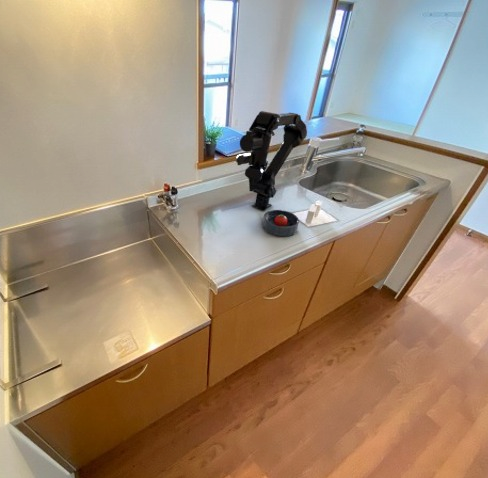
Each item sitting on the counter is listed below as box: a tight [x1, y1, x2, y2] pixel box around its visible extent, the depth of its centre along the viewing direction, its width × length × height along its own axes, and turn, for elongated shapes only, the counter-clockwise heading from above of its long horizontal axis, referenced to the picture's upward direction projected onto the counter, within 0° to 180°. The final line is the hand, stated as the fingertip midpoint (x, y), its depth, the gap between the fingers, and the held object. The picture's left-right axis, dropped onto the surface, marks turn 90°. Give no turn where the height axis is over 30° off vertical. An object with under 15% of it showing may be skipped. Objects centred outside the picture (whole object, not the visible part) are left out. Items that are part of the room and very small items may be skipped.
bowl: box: [262, 209, 300, 237], centre depth 108 cm, size 13×13×4 cm
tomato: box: [274, 214, 287, 227], centre depth 107 cm, size 5×5×5 cm
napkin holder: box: [292, 199, 338, 228], centre depth 114 cm, size 15×11×6 cm
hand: (252, 187), depth 111 cm, fingers open, 9 cm apart
